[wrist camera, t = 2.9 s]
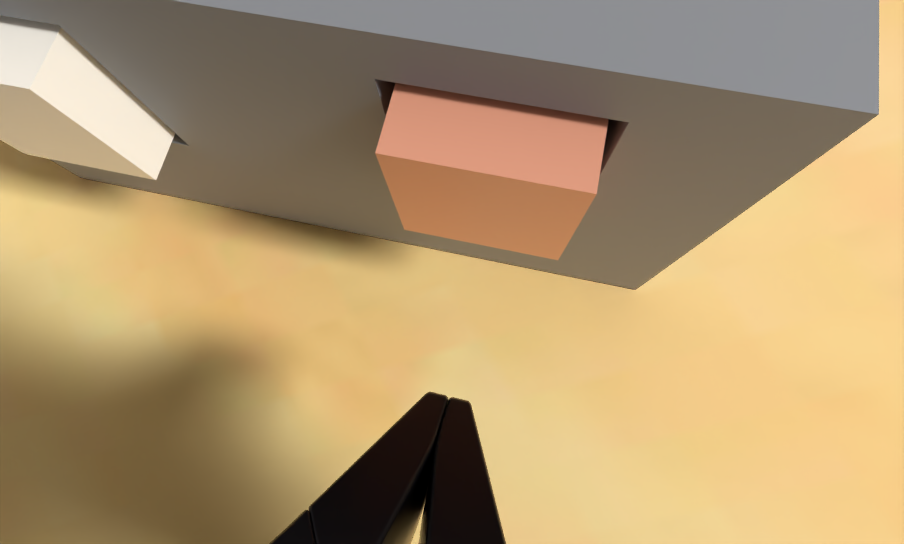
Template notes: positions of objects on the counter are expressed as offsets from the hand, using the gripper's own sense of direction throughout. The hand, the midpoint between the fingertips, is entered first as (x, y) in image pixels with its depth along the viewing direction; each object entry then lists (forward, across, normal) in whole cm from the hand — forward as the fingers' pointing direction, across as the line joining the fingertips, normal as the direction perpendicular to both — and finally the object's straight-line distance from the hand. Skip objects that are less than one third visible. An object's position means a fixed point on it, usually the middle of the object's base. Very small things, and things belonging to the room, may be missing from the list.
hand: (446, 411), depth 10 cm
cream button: (+5, +11, -2) cm, 12 cm away
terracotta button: (+5, 0, -2) cm, 5 cm away
